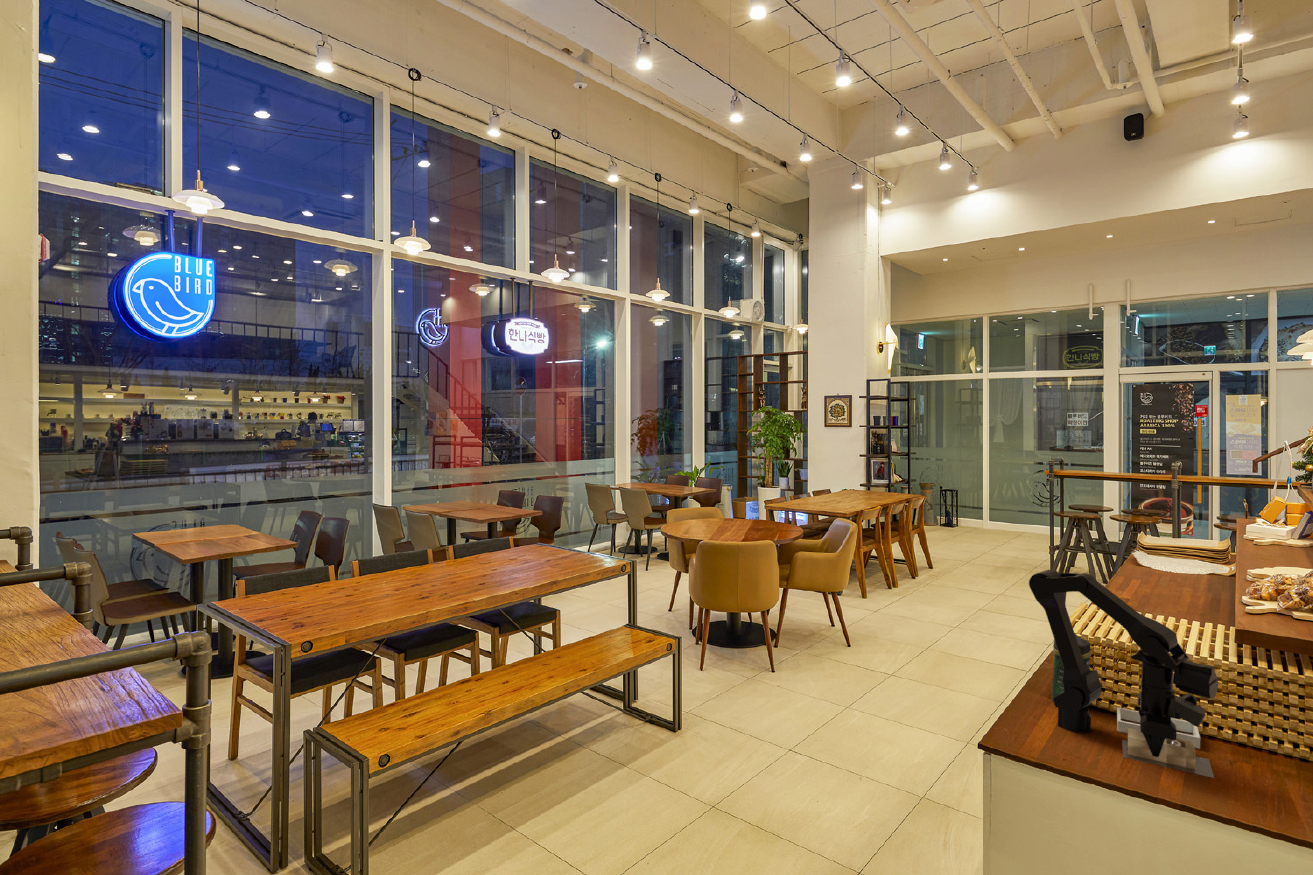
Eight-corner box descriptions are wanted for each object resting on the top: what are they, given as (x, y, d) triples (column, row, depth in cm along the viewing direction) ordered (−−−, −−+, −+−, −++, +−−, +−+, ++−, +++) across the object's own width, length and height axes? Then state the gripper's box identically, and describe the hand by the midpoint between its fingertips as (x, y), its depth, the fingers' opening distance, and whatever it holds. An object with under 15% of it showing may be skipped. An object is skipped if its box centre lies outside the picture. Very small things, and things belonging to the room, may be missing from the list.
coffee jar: (1080, 714, 176) (1081, 643, 175) (1047, 703, 182) (1048, 635, 181) (1094, 703, 182) (1096, 635, 181) (1062, 693, 188) (1063, 627, 187)
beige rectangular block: (1128, 754, 154) (1128, 736, 154) (1127, 744, 159) (1127, 727, 158) (1195, 769, 148) (1195, 751, 148) (1192, 759, 152) (1193, 741, 152)
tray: (1117, 734, 165) (1117, 720, 165) (1116, 720, 172) (1117, 707, 172) (1199, 752, 156) (1200, 737, 156) (1195, 736, 164) (1196, 722, 164)
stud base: (1122, 761, 153) (1123, 737, 153) (1121, 744, 161) (1122, 721, 160) (1214, 782, 144) (1215, 757, 144) (1208, 763, 152) (1209, 739, 152)
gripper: (1208, 707, 141) (1205, 781, 141) (1197, 676, 156) (1195, 743, 157) (1141, 695, 147) (1139, 765, 148) (1138, 666, 162) (1136, 730, 163)
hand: (1154, 750), depth 154 cm, fingers closed on beige rectangular block, 5 cm apart
